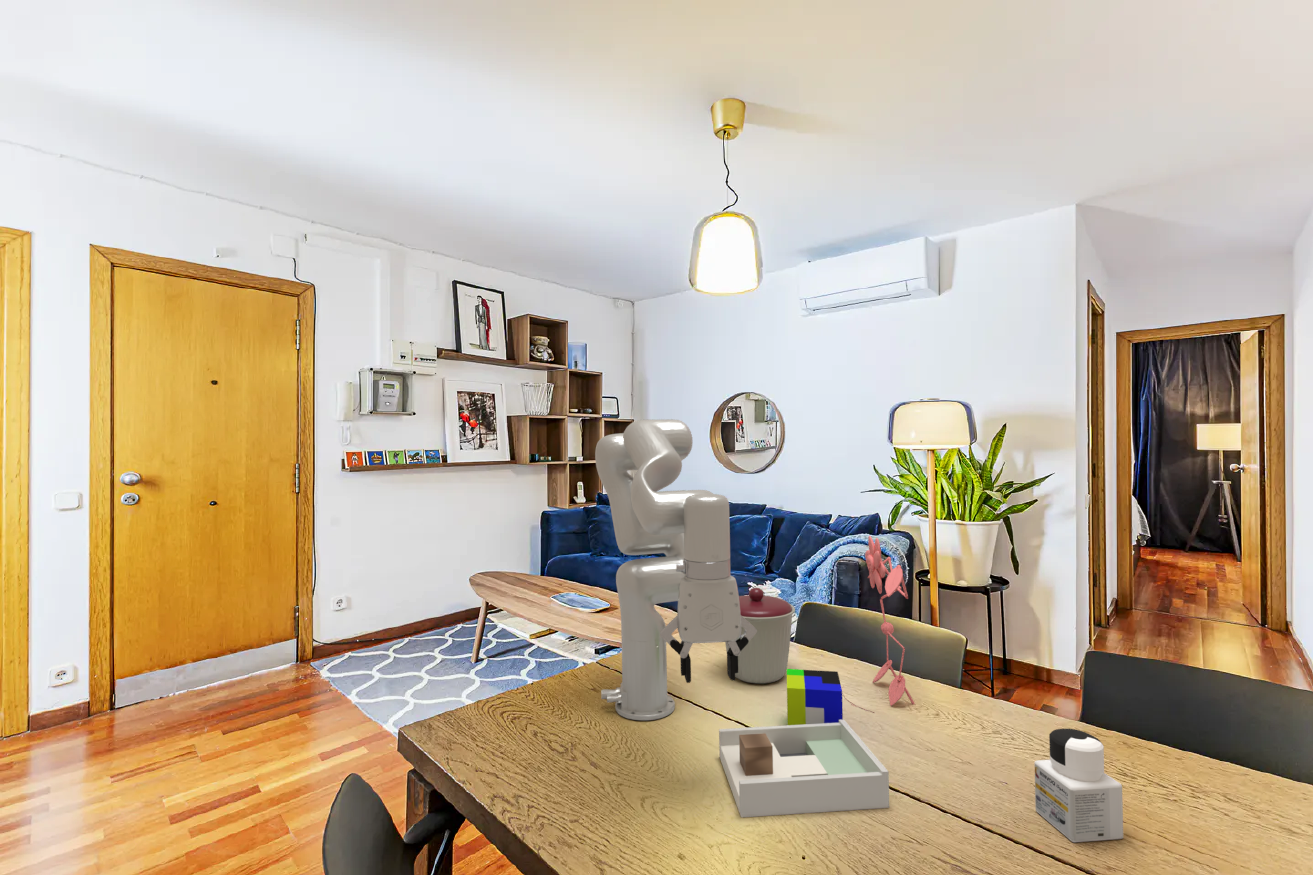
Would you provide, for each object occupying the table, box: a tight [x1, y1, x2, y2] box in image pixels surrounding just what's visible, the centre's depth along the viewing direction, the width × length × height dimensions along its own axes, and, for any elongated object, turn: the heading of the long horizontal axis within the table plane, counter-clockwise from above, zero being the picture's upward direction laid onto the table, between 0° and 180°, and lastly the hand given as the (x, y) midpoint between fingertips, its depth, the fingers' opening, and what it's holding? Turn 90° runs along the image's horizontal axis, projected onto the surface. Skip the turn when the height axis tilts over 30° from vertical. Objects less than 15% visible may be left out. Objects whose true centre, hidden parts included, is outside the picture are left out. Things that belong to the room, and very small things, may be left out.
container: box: [1034, 728, 1124, 843], centre depth 90 cm, size 8×8×13 cm
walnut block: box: [739, 733, 773, 776], centre depth 103 cm, size 4×4×4 cm
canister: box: [724, 587, 796, 685], centre depth 150 cm, size 18×18×21 cm
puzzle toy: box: [786, 668, 844, 725], centre depth 121 cm, size 10×10×10 cm
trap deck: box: [718, 719, 890, 818], centre depth 104 cm, size 23×18×6 cm
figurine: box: [841, 535, 915, 714], centre depth 138 cm, size 15×26×35 cm, turn 174°
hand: (709, 677), depth 103 cm, fingers open, 6 cm apart
